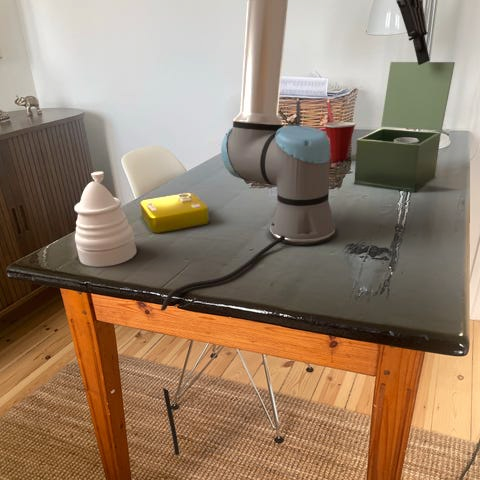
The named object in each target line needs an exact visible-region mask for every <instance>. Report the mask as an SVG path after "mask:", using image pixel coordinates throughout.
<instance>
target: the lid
mask: <svg viewBox="0 0 480 480" xmlns="http://www.w3.org/2000/svg"><path fill="white" fill-rule="evenodd" d="M455 65H456V62H455V61H428V62H425V63H423V64H421V65H418V61H390V64H389V70H388V78H387V84H386V90H385V98H384V105H383V111H382V118H381V124H380V127H381V128H385V127H386V128H393V129H407V130H420V131H434V132H442V131H443V127H444V121H445V117H446V116H445V115H446V112H447V111H446V110H447V105H448V101H449V95H450V89H451V85H452V79H453V75H454V70H455Z"/></svg>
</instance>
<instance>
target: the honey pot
mask: <svg viewBox="0 0 480 480" xmlns="http://www.w3.org/2000/svg"><path fill="white" fill-rule="evenodd" d="M104 174H105V173H104V171H94V172H92V173H91V174H90V175H91V178H92V179H93V181H91V182H89V183H88V184H87V185H86V186H85V187H84V190H83V192H82V194H81V197H80V201H79V202H77V203H76V204H75V205H74V212H76V213H77V219H76V221H75V225H76V227H75V233H74V242H75V245H76V251H77V254H78V259H79V261H80V263H81V264H82V265H85V266H88V267H96V268H97V267H98V268H100V267H110V266H117V265H119V264H122V263H125V262H127V261H129V260H131V259H133V258H134V256H135V255H136V254H137V252H138V251H137V245H136V240H135V235H134V230H133V227H132V225H131V224H130V223H129V219H127V217H126V214H125V213H124V212H123V210H122V208H121V206H122V201H121V200H120V198H118V197H114V196H113V194H112V193H111V192H110V191H109V190H108V188H106V186H105V185H103V184H102V183H101V182H102V181H103V180H104V176H105V175H104Z"/></svg>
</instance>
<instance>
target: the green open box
mask: <svg viewBox="0 0 480 480" xmlns="http://www.w3.org/2000/svg"><path fill="white" fill-rule="evenodd" d="M441 134H442V132H440V131H427V130H414V129H401V128H388V127H386V128H385V127H381V128H379V129H377V130H374V131H372V132H370V133H368V134H366V135H364V136H361V137H359V138H357V139H356V147H355V148H356V150H355V165H354V166H355V167H354V182H353V183H354V185H359V186H365V187H373V188H379V189H387V190H394V191H401V192H408V193H415V192H417V191H418V190H420V189H422V187H423V186H425V185H426V184H427V183H429V182H430V181H432V180H433V179H434V178H435V177H436V172H437V171H436V170H437V163H438V156H439V150H440V143H441V136H442V135H441ZM397 138H416V139H418V140H419V144H410V143H399V142H394V139H397Z"/></svg>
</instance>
